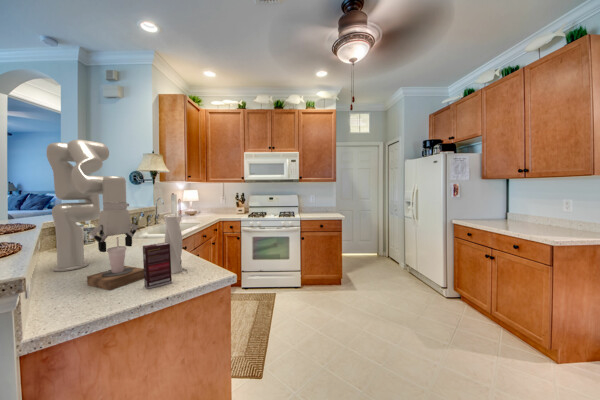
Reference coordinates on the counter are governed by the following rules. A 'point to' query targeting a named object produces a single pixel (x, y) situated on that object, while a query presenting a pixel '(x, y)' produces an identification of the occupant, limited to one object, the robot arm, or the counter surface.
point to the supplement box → (157, 265)
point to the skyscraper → (174, 241)
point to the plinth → (115, 278)
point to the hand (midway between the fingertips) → (116, 248)
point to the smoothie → (117, 257)
